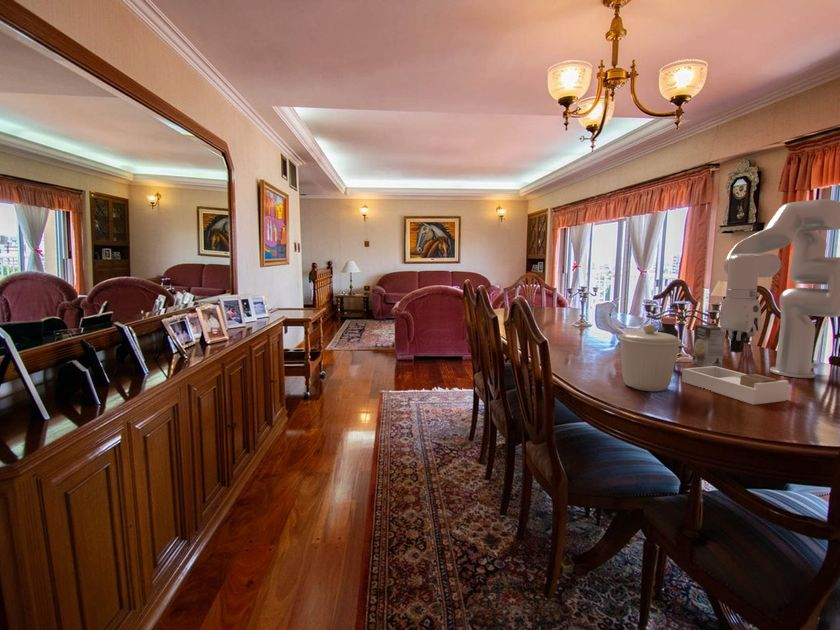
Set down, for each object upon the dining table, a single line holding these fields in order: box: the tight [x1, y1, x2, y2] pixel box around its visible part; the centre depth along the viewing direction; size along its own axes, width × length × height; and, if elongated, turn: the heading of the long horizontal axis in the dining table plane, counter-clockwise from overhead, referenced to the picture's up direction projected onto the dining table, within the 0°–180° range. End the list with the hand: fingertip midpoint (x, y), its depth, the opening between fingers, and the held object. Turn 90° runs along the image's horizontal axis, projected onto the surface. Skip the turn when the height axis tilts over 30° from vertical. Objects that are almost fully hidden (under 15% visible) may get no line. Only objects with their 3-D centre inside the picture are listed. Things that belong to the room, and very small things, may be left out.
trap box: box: [681, 366, 791, 405], centre depth 133 cm, size 14×24×6 cm, turn 15°
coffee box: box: [691, 324, 726, 368], centre depth 162 cm, size 9×6×16 cm
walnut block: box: [740, 373, 778, 388], centre depth 125 cm, size 6×6×4 cm
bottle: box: [657, 316, 679, 372], centre depth 158 cm, size 7×7×20 cm
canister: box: [617, 323, 683, 392], centre depth 135 cm, size 18×18×21 cm
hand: (736, 351), depth 132 cm, fingers closed
